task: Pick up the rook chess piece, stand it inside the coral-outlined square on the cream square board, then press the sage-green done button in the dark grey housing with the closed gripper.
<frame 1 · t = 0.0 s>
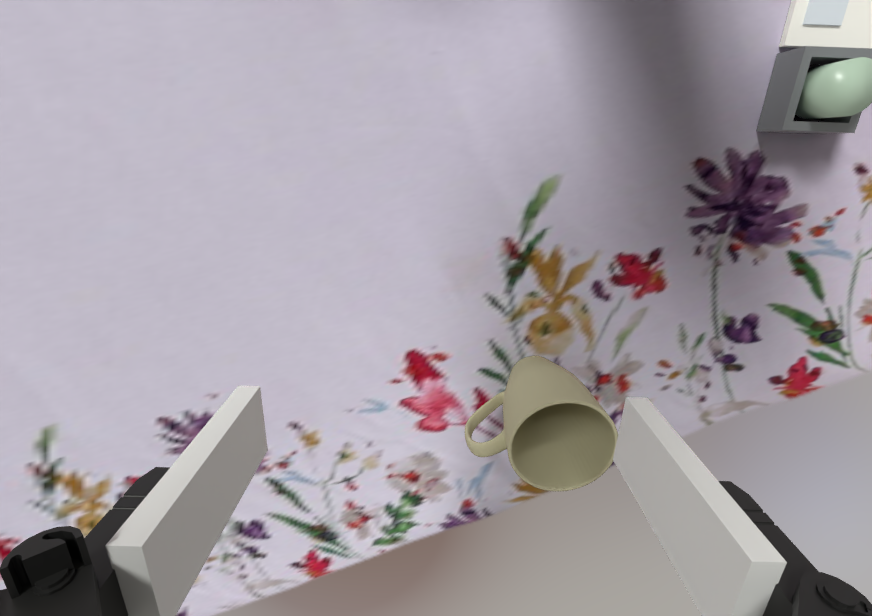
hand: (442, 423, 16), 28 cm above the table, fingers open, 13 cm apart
button housing: (801, 95, 37), on the table
mug: (522, 379, 47), on the table
done button: (833, 90, 34), point 3 cm above the table, slide at 0.0 cm
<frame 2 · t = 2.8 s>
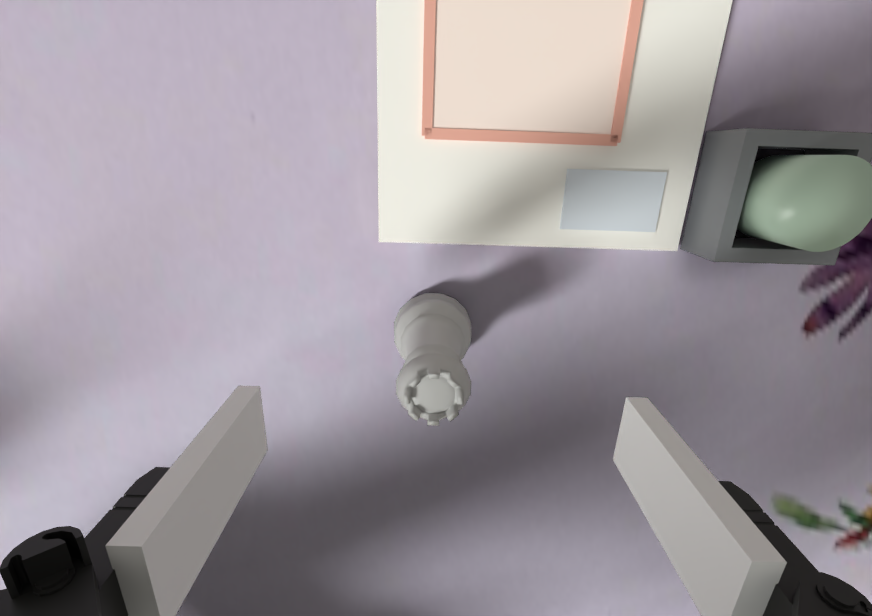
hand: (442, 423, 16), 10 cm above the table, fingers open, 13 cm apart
button housing: (748, 194, 23), on the table
rook chess piece: (432, 325, 26), on the table
cream square board: (543, 80, 21), on the table
done button: (797, 200, 20), point 3 cm above the table, slide at 0.0 cm
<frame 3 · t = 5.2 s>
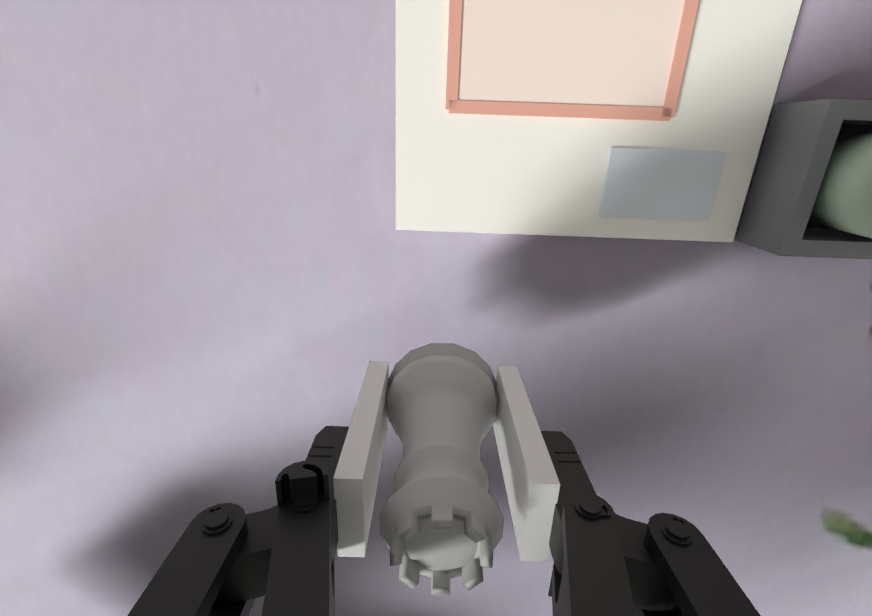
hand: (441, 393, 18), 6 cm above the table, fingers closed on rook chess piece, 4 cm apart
button housing: (819, 178, 20), on the table
rook chess piece: (441, 383, 18), point 5 cm above the table, touching gripper
cream square board: (586, 44, 18), on the table
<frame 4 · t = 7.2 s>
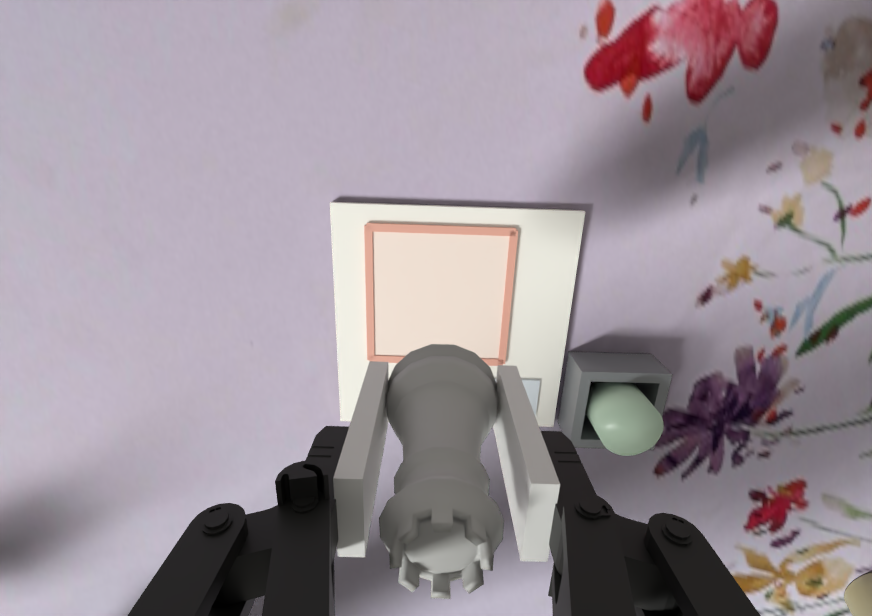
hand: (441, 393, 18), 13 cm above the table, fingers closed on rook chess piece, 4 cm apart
button housing: (603, 389, 32), on the table
rook chess piece: (442, 384, 18), point 12 cm above the table, touching gripper
cream square board: (451, 322, 30), on the table
mug: (871, 595, 40), on the table
done button: (620, 414, 29), point 3 cm above the table, slide at 0.0 cm
when the fingers open (1 cm above the table, at t = 9.4 s): rook chess piece stays where it is, resting on cream square board.
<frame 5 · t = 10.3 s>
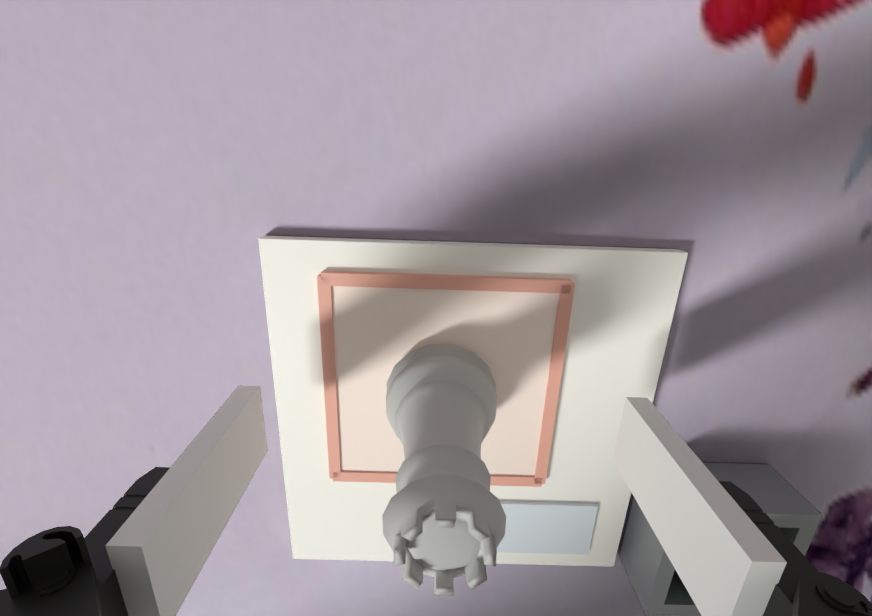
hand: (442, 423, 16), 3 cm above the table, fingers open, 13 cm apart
button housing: (690, 512, 21), on the table
rook chess piece: (440, 384, 18), point 1 cm above the table, touching cream square board
cream square board: (462, 419, 19), on the table
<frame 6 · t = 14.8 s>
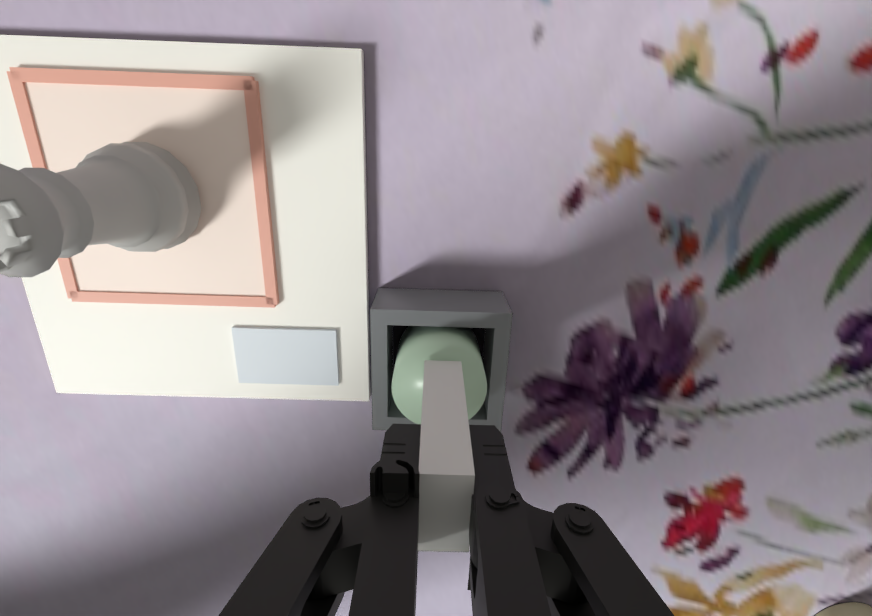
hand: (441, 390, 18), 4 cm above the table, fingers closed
button housing: (438, 345, 22), on the table
rook chess piece: (157, 195, 19), point 1 cm above the table, touching cream square board
cream square board: (195, 241, 20), on the table
done button: (438, 368, 20), point 2 cm above the table, slide at 0.8 cm, touching gripper
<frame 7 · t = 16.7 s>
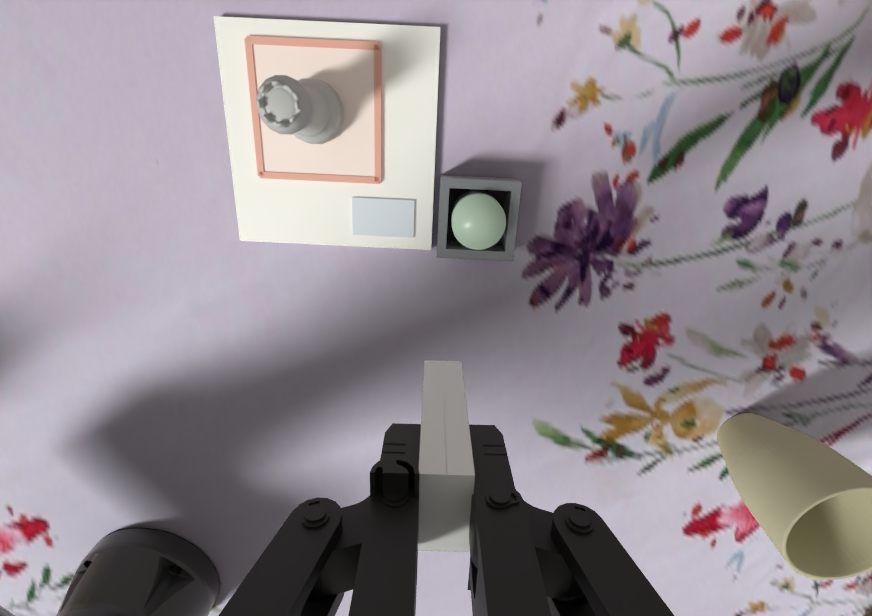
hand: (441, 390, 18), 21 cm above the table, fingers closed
button housing: (475, 214, 36), on the table
rook chess piece: (316, 112, 33), point 1 cm above the table, touching cream square board
cream square board: (333, 143, 34), on the table
mug: (743, 440, 43), on the table
done button: (477, 219, 34), point 2 cm above the table, slide at 1.0 cm
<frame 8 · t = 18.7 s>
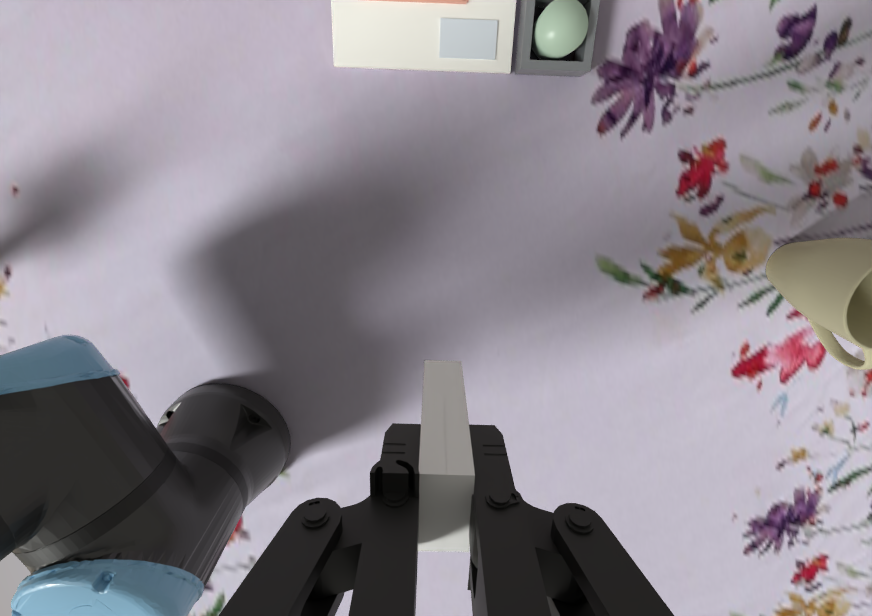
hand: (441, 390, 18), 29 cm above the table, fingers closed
button housing: (551, 37, 39), on the table
mug: (789, 273, 47), on the table
done button: (557, 31, 37), point 2 cm above the table, slide at 1.0 cm
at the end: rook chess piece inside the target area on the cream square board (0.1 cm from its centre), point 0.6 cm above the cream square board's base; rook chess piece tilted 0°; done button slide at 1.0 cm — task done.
